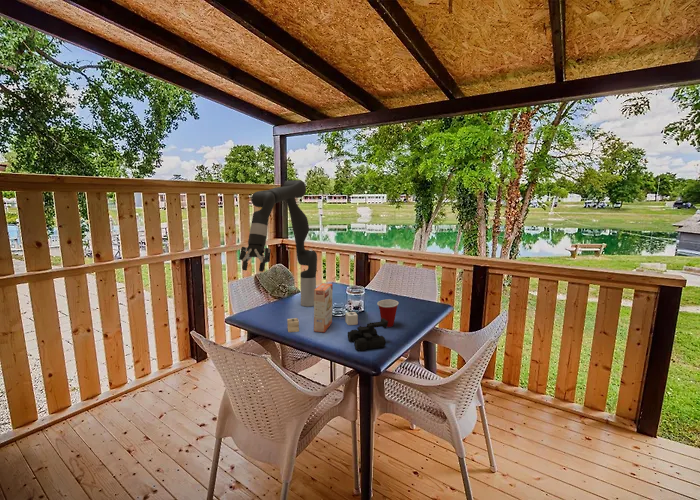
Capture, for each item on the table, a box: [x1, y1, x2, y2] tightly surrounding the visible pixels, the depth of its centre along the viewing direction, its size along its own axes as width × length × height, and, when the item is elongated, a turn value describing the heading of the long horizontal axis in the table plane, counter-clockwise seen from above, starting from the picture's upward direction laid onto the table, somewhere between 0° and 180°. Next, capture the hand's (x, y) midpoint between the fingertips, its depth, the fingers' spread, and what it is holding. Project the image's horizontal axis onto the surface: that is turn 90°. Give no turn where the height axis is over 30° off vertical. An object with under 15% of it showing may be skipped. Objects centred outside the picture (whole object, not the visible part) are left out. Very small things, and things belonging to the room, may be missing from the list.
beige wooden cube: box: [345, 311, 359, 326], centre depth 167 cm, size 5×5×5 cm
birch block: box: [286, 317, 300, 333], centre depth 157 cm, size 5×5×5 cm
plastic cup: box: [377, 299, 399, 328], centre depth 164 cm, size 11×11×12 cm
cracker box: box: [313, 282, 334, 333], centre depth 160 cm, size 14×6×21 cm, turn 168°
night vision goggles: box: [347, 318, 388, 351], centre depth 143 cm, size 14×16×10 cm
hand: (252, 270), depth 141 cm, fingers open, 8 cm apart
